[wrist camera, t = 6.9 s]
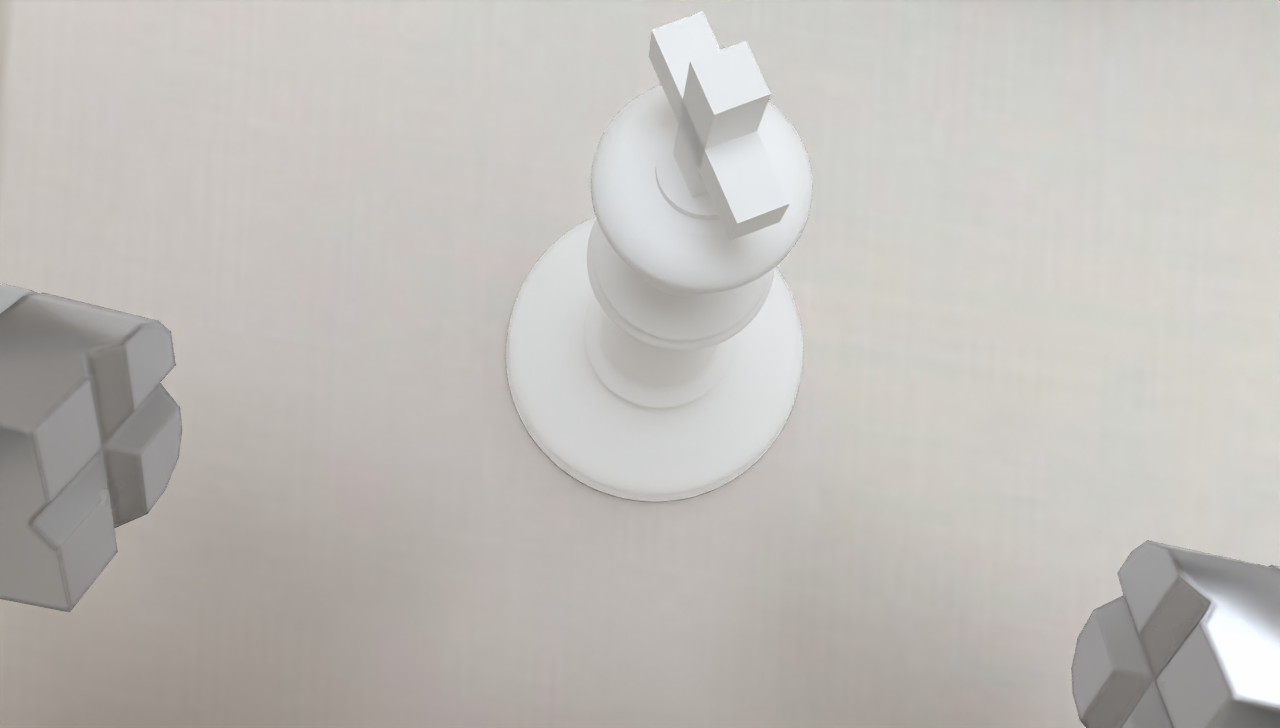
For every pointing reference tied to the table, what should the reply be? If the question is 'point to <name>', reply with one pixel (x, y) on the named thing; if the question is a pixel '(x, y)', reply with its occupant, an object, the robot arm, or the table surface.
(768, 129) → the chess piece
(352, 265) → the table surface
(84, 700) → the table surface
